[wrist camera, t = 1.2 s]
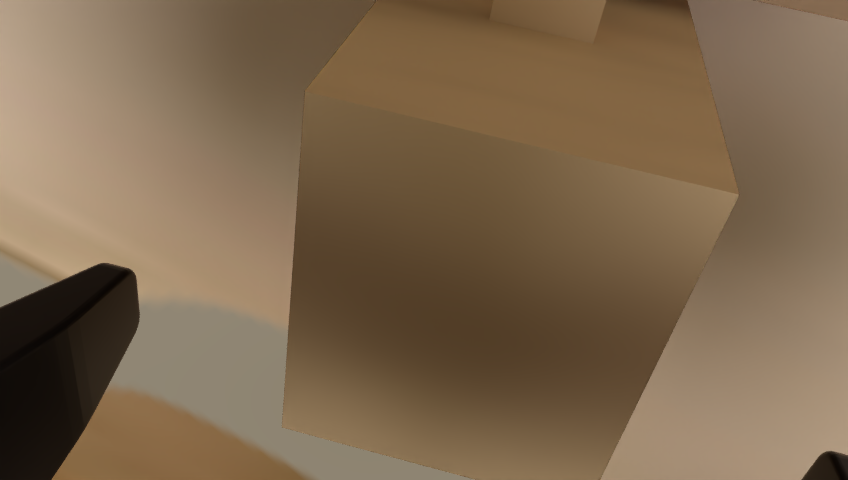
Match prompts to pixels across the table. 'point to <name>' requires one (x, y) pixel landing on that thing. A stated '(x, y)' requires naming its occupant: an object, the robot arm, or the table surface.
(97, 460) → the table surface
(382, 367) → the wooden mallet
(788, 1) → the board
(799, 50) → the table surface
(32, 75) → the table surface
